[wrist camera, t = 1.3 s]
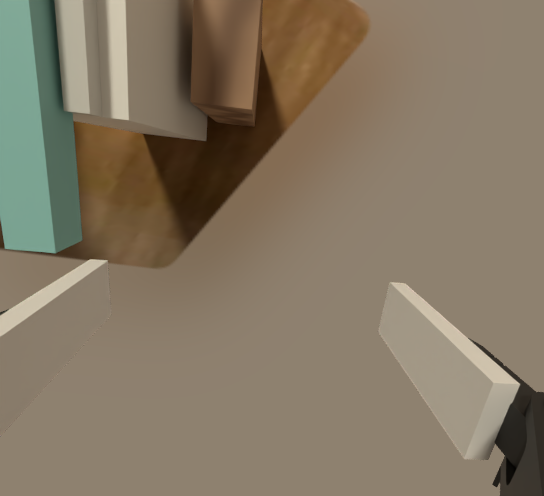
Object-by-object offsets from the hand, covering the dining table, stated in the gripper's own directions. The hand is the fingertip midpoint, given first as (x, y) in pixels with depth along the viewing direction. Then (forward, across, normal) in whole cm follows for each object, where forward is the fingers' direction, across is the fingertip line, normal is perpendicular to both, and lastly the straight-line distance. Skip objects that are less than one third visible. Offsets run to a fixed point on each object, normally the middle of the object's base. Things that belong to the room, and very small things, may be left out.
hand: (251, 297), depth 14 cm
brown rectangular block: (+39, -4, +16) cm, 42 cm away
